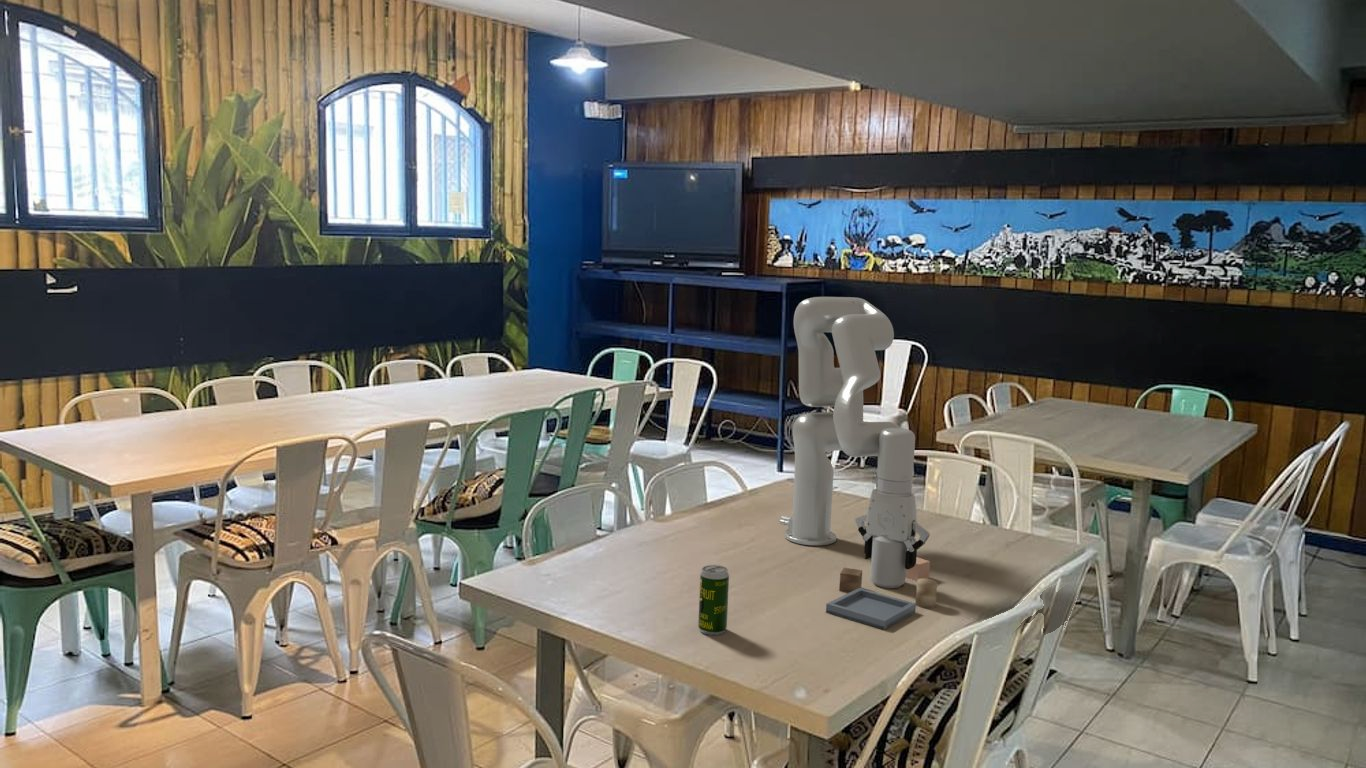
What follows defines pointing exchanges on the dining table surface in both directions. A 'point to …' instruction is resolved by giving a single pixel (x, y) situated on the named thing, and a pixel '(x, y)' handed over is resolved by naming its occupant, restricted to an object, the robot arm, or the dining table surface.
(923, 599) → the cork cylinder
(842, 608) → the tray
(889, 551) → the can
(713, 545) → the dining table surface
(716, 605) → the green drink can
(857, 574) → the walnut block
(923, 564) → the terracotta block
